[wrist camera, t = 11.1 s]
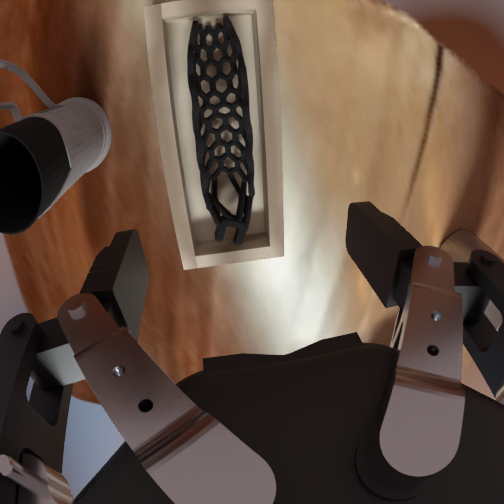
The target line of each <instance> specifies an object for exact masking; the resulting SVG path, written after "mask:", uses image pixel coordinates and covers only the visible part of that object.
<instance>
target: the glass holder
mask: <svg viewBox="0 0 504 504" xmlns="http://www.w3.org/2000/svg"><path fill="white" fill-rule="evenodd" d="M0 67H2V68H5V69H8V70H9V71H11V72H13V73H15V74H16V75H18V76H19V77H20V78H21V79H22V80H24V81H25V82H26V84H27V85H28V86H29V87H30V88H31V89H32V90H33V91H34V92H35V94H36V95H37V96H38V97H39V98H40V100H41V101H42V102H43V103H44V104H45V105H46V106H47V107H48V108H50V109H46V110H43V111H40V112H37V113H34V114H32V115H29V116H26V117H23V118H22V116H21V113H20V111H19V109H18V107H17V105H16V104H15V103H13V102H6V103H0V110H2V109H9V110H10V111H11V113H12V115H13V117H14V120H15V123H13V124H11V125H8V126H6V127H3V128H1V129H0V232H1V233H4V234H18V233H20V232H23V231H25V230H26V229H28V228H29V227H30V226H31V225H32V224H33V223H34V222H35V221H36V220H37V219H38V218H40V217H41V216H42V215H43V214H45V213H46V212H47V211H48V210H49V209H50V208H51V207H52V205H53V204H54V203H55V202H56V201H57V200H58V199H59V198H60V197H61V196H62V195H63V194H64V193H65V192H66V191H67V190H68V189H69V188H70V187H71V186H72V185H73V184H74V183H75V182H76V181H77V180H78V179H79V178H80V177H81V176H82V175H83V174H84V173H86V172H89V171H91V170H92V169H94V168H95V167H97V166H98V165H99V164H100V163H101V162H102V161H103V160H104V158H105V156H106V155H107V153H108V150H109V148H110V144H111V136H112V132H111V125H110V121H109V119H108V117H107V114H106V113H105V111H104V110H103V109H102V108H101V107H100V106H99V105H98V104H97V103H95V102H94V101H92V100H90V99H87V98H82V97H74V98H69V99H67V100H64V101H62V102H61V103H59V104H54V103H53V102H52V101H51V100H50V99H49V98H48V96H47V95H46V94H45V93H44V92H43V90H42V89H41V88H40V87H39V86H38V84H37V83H36V82H35V81H34V80H33V79H32V78H31V76H30V75H29V74H28V73H27V72H26V71H25V70H23V69H22V68H20V67H19V66H17V65H15V64H13V63H12V62H9V61H5V60H0Z"/></svg>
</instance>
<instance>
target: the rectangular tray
mask: <svg viewBox="0 0 504 504" xmlns="http://www.w3.org/2000/svg"><path fill="white" fill-rule="evenodd" d="M144 16H145V29H146V41H147V51H148V61H149V70H150V79H151V87H152V95H153V103H154V110H155V118H156V125H157V131H158V138H159V144H160V150H161V157H162V162H163V168H164V174H165V180H166V185H167V191H168V196H169V201H170V206H171V211H172V216H173V221H174V226H175V231H176V236H177V241H178V245H179V250H180V254H181V259H182V263H183V268H184V270H187V269H194V268H201V267H209V266H216V265H224V264H231V263H238V262H246V261H253V260H260V259H267V258H274V257H282V256H284V219H283V179H282V149H281V124H280V103H279V84H278V67H277V51H276V36H275V22H274V9H273V0H179V1H173V2H167V3H161V4H156V5H151V6H146V7H144ZM224 16H228V17H229V19H230V20H231V22H232V24H233V26H234V29H235V31H236V34H237V35H238V37H239V40H240V43H241V46H242V52H243V57H244V61H245V65H246V69H247V78H248V87H249V108H250V120H251V125H252V131H253V152H252V154H253V159H254V188H255V195H254V198H253V204H252V211H251V217H250V222H249V227H248V231H247V232H246V235H245V238H244V242H243V244H242V245H240V246H238V245H234V243H233V241H234V234H235V231H236V228H233V227H229V226H228V227H226V231H225V235H224V238H223V241H222V242H217V241H215V230H216V226H217V225H216V224H215V223H214V221H213V219H212V216H211V214H210V212H209V211H208V210H207V209H206V204H205V201H204V197H203V194H202V189H201V182H200V170H199V167H198V163H197V157H196V144H195V135H194V131H193V123H192V100H191V94H190V91H189V86H188V77H187V52H188V43H189V37H190V32H191V27H192V23H193V21H194V20H198V22H199V23H201V24H202V27H203V30H205V29H206V25H211V27H212V29H213V30H215V28H216V23H221V24H222V26H223V21H222V20H223V17H224ZM197 41H198V44H200V35H199V33H198V39H197ZM218 41H219V43H220V44H223V42H224V37H223V33H221V32H220V33H219V35H218ZM206 43H207V45H208V46H209V47H210V46H211V45H212V44H213V42H212V37H211V36H210V35H209V34H208V35H207V37H206ZM227 51H228V56H230V57H231V54H232V49H231V45H230V44H229V46H228V48H227ZM213 56H214V59H215V60H216V61H218V62H219V60H220V59H221V58H222V54H221V50H219V49H217V48H216V50H215V51H214V52H213ZM201 59H202V60H203V62H205V61H206V60H207V52H206V51H205V50H204V49H202V50H201ZM236 64H237V68H238V60H237V61H236ZM222 67H223V73H224V74H226V75H228V74H229V72H230V71H231V66H230V63H229V62H225V64H224V65H223V66H222ZM196 72H197V74H198V75H201V74H200V67H199V66H198V64H197V63H196ZM207 74H208V75H209V76H210V77H212V78H213V77H214V76H215V75H216V74H217V71H216V67H215V66H213V65H209V66H208V67H207ZM232 81H233V87H234V88H237V86H238V83H239V82H238V76H237V75H235V76H234V78H233V79H232ZM201 87H202V90H203V91H204V92H205V93H208V92H209V91H210V86H209V83H208V82H207V81H205V80H203V81H202V82H201ZM216 88H217V90H218V91H220V92H222V93H223V92H224V91H225V90H226V89H227V84H226V81H225V80H223V79H220V80H218V81H217V82H216ZM198 98H199V105H200V106H202V105H203V100H202V99H201V98H200V97H199V96H198ZM242 98H243V96H242ZM209 100H210V103H211V104H214V105H216V104H217V103H219V102H220V98H218V97H216V96H213V97H211V98H210V99H209ZM235 100H236V98H235V94H232V93H231V94H229V95H228V97H227V101H228V102H230V103H233V102H234V101H235ZM236 111H237V113H238V114H239V115H241V116H242V117H243V115H242V109H241V108H240V107H239V106H238V107H237V108H236ZM219 112H221V113H224V114H226V113H228V112H230V109H228V108H226V107H223V108H221V109H219ZM211 114H212V110H209V109H207V110H206V111H205V112H204V117H205V118H207V117H208V116H210V115H211ZM211 123H212V127H213V128H216V129H217V128H219V127H220V126H221V125H222V119H219V118H216V119H215V120H214V121H213V122H211ZM229 124H230V125H231V126H232V127H234V128H235V129H237V128H239V122H238V121H237V120H236V119H234V118H233V117H232V118H230V119H229ZM204 131H205V124H203V126H202V129H201V135H203V133H204ZM238 137H239V141H240V142H241V143H242V144H243V145H244V147H245V141H244V139H243V137H242V135H241V134H239V135H238ZM221 139H222V140H225V141H227V142H228V141H230V140H232V134H231V133H230V132H229V131H227V130H225V131H223V132H222V133H221ZM214 141H215V135H214V134H211V133H210V135H209V137H208V139H207V147H210V146H211V145H212V143H213V142H214ZM214 152H215V156H221V155H222V154H223V153H225V147H223V146H221V145H219V146H218V147H217V148H216V149H215V150H214ZM231 152H232V153H233V154H234V155H236V156H237V157H241V152H240V151H239V149H238V148H237V147H236V146H235V145H234V146H232V147H231ZM208 159H209V154H208V153H207V154H206V158H205V165H206V163H207V161H208ZM224 166H225V167H228V168H232V167H235V164H234V161H232V160H231V159H230V158H229V157H228V158H226V159H225V160H224ZM240 167H241V168H242V170H243V171H244V172H245V174H246V175H247V171H246V169H245V167H244V165H243V163H240ZM217 168H218V162H213V165H212V167H211V169H210V174H213V173H214V172H215V170H216V169H217ZM233 176H234V178H235V179H236V181H237V183H238V185H239V186H240V187H241V181H242V178H241V177H240V176H239V174H238V173H237V172H235V173H233ZM217 179H218V184H217V198H218V199H219V202H220V203H221V204H222V205H223V206H224V207H226V208H227V209H228V210H229V211H230V212H231V214H233V215H236V211H237V205H238V199H239V198H238V197H239V195H238V193H237V192H236V190H235V188H234V186H233V185H232V183H231V181H230V179H229V178H228V175H227V173H225V172H223V171H222V172H221V173H220V175H219V176H218V178H217ZM209 192H210V193H211V194H212V180H211V181H210V187H209ZM246 195H247V196H249V193H248V183H247V191H246ZM220 214H221V213H220ZM221 216H222V214H221ZM243 216H244V213H243Z"/></svg>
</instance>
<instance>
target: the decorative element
mask: <svg viewBox="0 0 504 504" xmlns="http://www.w3.org/2000/svg"><path fill="white" fill-rule="evenodd" d="M222 21H223V26H222V24H221V23H216V28H215V30H213V29H212V27H211V25H206V29H205V30H203V27H202V24H201V23H199V22H198V20H194V21H193V23H192V27H191V32H190V37H189V43H188V52H187V77H188V86H189V91H190V94H191V100H192V123H193V131H194V135H195V144H196V157H197V163H198V167H199V170H200V182H201V189H202V194H203V197H204V201H205V204H206V209H207V210H208V211H209V212H210V214H211V216H212V219H213V221H214V223H215V224H216V225H217V226H216V230H215V241H217V242H222V241H223V238H224V235H225V231H226V227H228V226H229V227H233V228H236V231H235V234H234V241H233V243H234V245H238V246H240V245H242V244H243V242H244V238H245V235H246V232H247V231H248V227H249V222H250V217H251V211H252V204H253V198H254V195H255V188H254V159H253V154H252V152H253V131H252V125H251V120H250V108H249V87H248V78H247V69H246V65H245V61H244V57H243V52H242V46H241V43H240V40H239V37H238V35H237V34H236V31H235V29H234V26H233V24H232V22H231V20H230V19H229V17H228V16H224V17H223V20H222ZM220 32H221V33H223V37H224V42H223V44H220V43H219V41H218V35H219V33H220ZM198 33H199V35H200V44H198V41H197V39H198ZM208 34H209V35H210V36H211V37H212V42H213V44H212V45H211V46H210V47H209V46H208V45H207V43H206V37H207V35H208ZM229 44H230V45H231V49H232V54H231V57H230V56H228V51H227V48H228V46H229ZM216 48H217V49H219V50H221V54H222V58H221V59H220V60H219V62H218V61H216V60H215V59H214V56H213V52H214V51H215V50H216ZM202 49H204V50H205V51H206V52H207V60H206V61H205V62H203V60H202V59H201V50H202ZM237 60H238V68H237V64H236V61H237ZM225 62H229V63H230V66H231V71H230V72H229V74H228V75H226V74H224V73H223V67H222V66H223V65H224V64H225ZM196 63H197V64H198V66H199V67H200V74H201V75H198V74H197V72H196ZM209 65H213V66H215V67H216V71H217V74H216V75H215V76H214V77H213V78H212V77H210V76H209V75H208V74H207V67H208V66H209ZM235 75H237V76H238V82H239V83H238V86H237V88H234V87H233V81H232V79H233V78H234V76H235ZM220 79H223V80H225V81H226V84H227V89H226V90H225V91H224V92H223V93H222V92H220V91H218V90H217V88H216V82H217V81H218V80H220ZM203 80H205V81H207V82H208V83H209V86H210V91H209V92H208V93H205V92H204V91H203V90H202V87H201V82H202V81H203ZM231 93H232V94H235V98H236V100H235V101H234V102H233V103H230V102H228V101H227V97H228V95H229V94H231ZM198 96H199V97H200V98H201V99H202V100H203V105H202V106H200V105H199V98H198ZM213 96H216V97H218V98H220V102H219V103H217V104H216V105H214V104H211V103H210V100H209V99H210V98H211V97H213ZM242 96H243V98H242ZM238 106H239V107H240V108H241V109H242V115H243V117H242V116H241V115H239V114H238V113H237V111H236V108H237V107H238ZM223 107H226V108H228V109H230V112H228V113H226V114H224V113H221V112H219V109H221V108H223ZM207 109H209V110H212V114H211V115H210V116H208V117H207V118H205V117H204V112H205V111H206V110H207ZM232 117H233V118H234V119H236V120H237V121H238V122H239V128H237V129H235V128H234V127H232V126H231V125H230V124H229V119H230V118H232ZM216 118H219V119H222V125H221V126H220V127H219V128H217V129H216V128H213V127H212V123H211V122H213V121H214V120H215V119H216ZM203 124H205V131H204V133H203V135H201V129H202V126H203ZM225 130H227V131H229V132H230V133H231V134H232V140H230V141H228V142H227V141H225V140H222V139H221V133H222V132H223V131H225ZM210 133H211V134H214V135H215V141H214V142H213V143H212V145H211V146H210V147H207V139H208V137H209V135H210ZM239 134H241V135H242V137H243V139H244V141H245V147H244V145H243V144H242V143H241V142H240V141H239V137H238V135H239ZM219 145H221V146H223V147H225V153H223V154H222V155H221V156H215V152H214V150H215V149H216V148H217V147H218V146H219ZM234 145H235V146H236V147H237V148H238V149H239V151H240V152H241V157H237V156H236V155H234V154H233V153H232V152H231V147H232V146H234ZM207 153H208V154H209V159H208V161H207V163H206V165H205V158H206V154H207ZM228 157H229V158H230V159H231V160H232V161H234V164H235V167H232V168H228V167H225V166H224V160H225V159H226V158H228ZM213 162H218V168H217V169H216V170H215V172H214V173H213V174H210V169H211V167H212V165H213ZM240 163H243V165H244V167H245V169H246V171H247V175H246V174H245V172H244V171H243V170H242V168H241V167H240ZM222 171H223V172H225V173H227V175H228V178H229V179H230V181H231V183H232V185H233V186H234V188H235V190H236V192H237V193H238V195H239V197H238V198H239V199H238V205H237V211H236V215H233V214H231V212H230V211H229V210H228V209H227V208H226V207H224V206H223V205H222V204H221V203H220V202H219V199H218V198H217V184H218V179H217V178H218V176H219V175H220V173H221V172H222ZM235 172H237V173H238V174H239V176H240V177H241V178H242V181H241V187H240V186H239V185H238V183H237V181H236V179H235V178H234V176H233V173H235ZM211 180H212V194H211V193H210V192H209V187H210V181H211ZM247 183H248V193H249V196H247V195H246V191H247ZM220 213H221V214H222V216H221V214H220ZM243 213H244V216H243Z"/></svg>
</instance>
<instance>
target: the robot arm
mask: <svg viewBox="0 0 504 504" xmlns="http://www.w3.org/2000/svg"><path fill="white" fill-rule="evenodd" d="M346 248H347V251H348V253H349V255H350V256H351V258H352V259H353V261H354V262H355V264H356V265H357V266H358V268H359V269H360V271H361V272H362V274H363V275H364V277H365V278H366V279H367V281H368V282H369V284H370V285H371V287H372V288H373V290H374V291H375V293H376V294H377V296H378V297H379V299H380V300H381V302H382V303H383V305H384V306H385V308H388V307H393V306H397V305H398V306H399V307H400V308H399V311H398V314H397V318H396V323H395V327H394V331H393V335H392V339H391V343H390V347H388V346H385V345H381V344H375V343H362V341H361V339H360V337H359V335H358V334H357V332H355V333H351V334H346V335H342V336H337V337H333V338H328V339H323V340H320V341H318V342H316V343H313V344H311V345H309V346H306V347H304V348H302V349H299V350H297V351H294V352H292V353H290V354H287V355H263V354H243V353H242V354H235V355H227V356H219V357H211V358H203V370H202V371H199V372H197V373H195V374H192V375H190V376H188V377H186V378H185V379H183V380H181V381H180V382H178V383H177V384H175V383H174V382H173V381H172V380H171V379H170V378H169V377H168V376H167V375H166V374H165V373H164V372H163V371H162V370H161V368H160V367H159V366H158V365H157V364H156V363H155V362H154V361H153V360H152V359H151V357H150V356H149V355H148V354H147V353H146V352H145V351H144V350H143V348H142V347H141V346H140V345H139V344H138V336H139V330H140V324H141V318H142V313H143V307H144V302H145V296H146V291H147V286H148V281H149V273H148V267H147V263H146V259H145V256H144V252H143V249H142V245H141V242H140V238H139V235H138V232H137V230H136V229H134V230H127V231H121V232H116V234H115V236H114V238H113V240H112V242H111V245H110V246H109V247H105V248H104V249H103V250H102V251H101V252H100V253H99V254H98V255H97V256H96V258H95V260H94V262H93V266H92V267H91V269H90V271H89V272H90V273H88V275H87V278H86V280H85V282H84V284H83V287H82V289H81V291H80V294H77V295H74V296H72V297H70V298H68V299H67V300H66V301H64V302H63V303H62V305H61V306H60V307H59V309H58V311H57V317H56V318H54V319H51V320H48V321H45V322H42V323H39V324H38V322H37V321H36V319H35V317H34V316H33V315H32V314H30V313H21V314H19V315H16V316H15V317H13V318H12V319H10V320H9V321H8V322H7V323H6V325H5V326H4V328H3V329H2V332H1V334H0V504H504V260H503V259H502V258H501V257H500V256H499V255H498V254H497V253H496V252H494V251H493V250H492V249H491V248H490V247H489V246H488V245H486V244H485V243H484V242H483V241H482V240H481V239H479V238H478V237H477V236H476V235H473V234H471V233H470V232H469V231H467V230H459V231H456V232H455V233H453V234H451V235H450V236H449V237H448V238H447V239H446V240H445V241H444V243H443V244H442V246H441V247H440V248H437V247H434V246H422V245H421V244H420V243H419V242H418V241H417V240H416V239H415V238H414V237H413V236H412V235H411V234H410V233H409V232H408V231H406V229H405V228H403V227H402V226H400V224H399V223H398V222H397V221H396V220H395V219H394V218H393V217H391V216H389V215H387V214H385V213H383V212H381V211H380V210H378V209H377V208H376V207H375V206H374V205H373V204H372V203H371V202H369V201H367V202H356V203H351V204H350V205H349V208H348V219H347V230H346ZM463 344H464V346H465V347H466V349H467V350H468V352H469V354H470V355H471V357H472V358H473V360H474V362H475V363H476V365H477V367H478V368H479V370H480V372H481V373H482V375H483V377H484V379H485V381H486V382H487V384H488V386H489V387H490V389H491V391H492V393H493V395H494V397H495V399H496V400H494V399H492V398H490V397H488V396H486V395H484V394H481V393H480V392H478V391H476V390H474V389H472V388H470V387H468V386H466V385H464V384H462V383H461V372H462V353H463ZM29 377H31V378H32V379H33V380H34V384H33V388H32V391H31V395H30V399H29V402H28V400H27V396H26V389H27V385H28V381H29ZM83 379H86V380H87V382H88V384H89V385H90V387H91V389H92V390H93V392H94V394H95V395H96V397H97V399H98V400H99V402H100V403H101V405H102V407H103V408H104V410H105V411H106V413H107V414H108V416H109V418H110V419H111V421H112V422H113V424H114V425H115V426H116V428H117V429H118V431H119V432H120V433H121V435H122V437H123V438H124V439H125V442H124V443H123V444H122V445H121V446H120V448H119V449H118V450H117V451H116V452H115V453H114V455H113V456H112V457H111V458H110V459H109V460H108V461H107V463H106V464H105V465H104V466H103V467H102V468H101V469H100V471H99V472H98V473H97V474H96V475H95V476H94V477H93V478H92V480H91V481H90V482H89V483H88V484H87V485H86V486H85V487H84V489H83V490H82V491H81V492H80V493H79V494H78V495H77V496H76V498H75V499H74V498H73V496H72V495H71V490H70V486H69V484H68V482H67V480H66V479H65V478H64V476H63V475H62V463H63V451H64V441H65V433H66V426H67V418H68V411H69V404H70V399H71V393H72V388H73V383H74V382H77V381H80V380H83Z"/></svg>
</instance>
